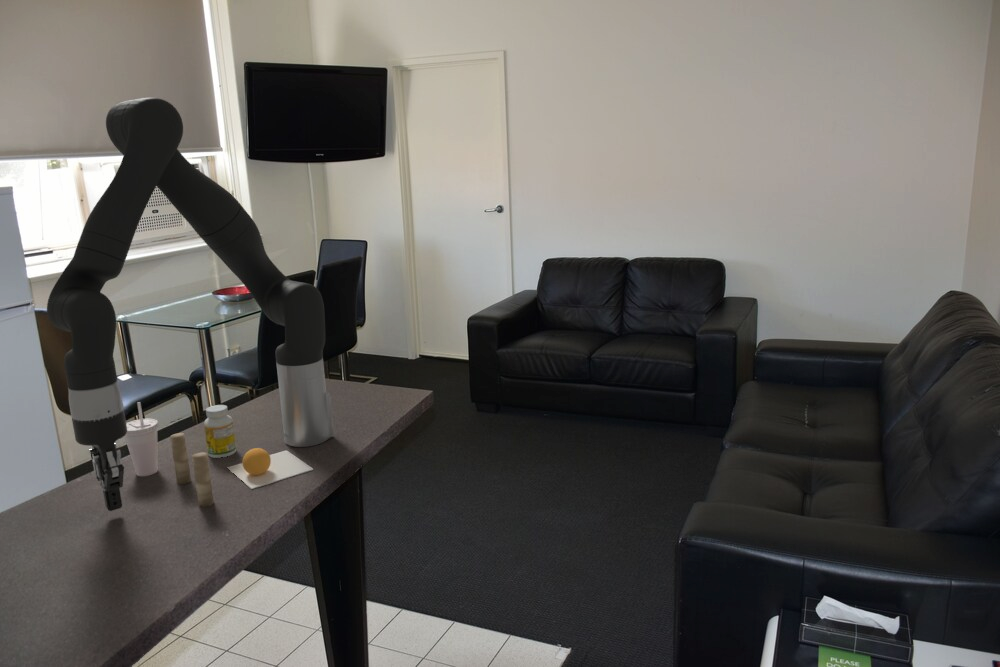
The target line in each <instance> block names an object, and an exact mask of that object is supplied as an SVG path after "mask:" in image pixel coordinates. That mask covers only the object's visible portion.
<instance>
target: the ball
mask: <svg viewBox="0 0 1000 667" xmlns="http://www.w3.org/2000/svg"><path fill="white" fill-rule="evenodd" d="M270 455H271V454H269V452H268V451H267V450H265V449H263V448H261V447H256V448H255V447H254V448H251V449H249V450H248V451H246V453H245V454H244V456H243V458H242V463H243V467H244V469H245V470H246V472H248V473H249V474H251V475H260V474H263V473H264V472H266V471H267V470H268V468H269V466H270V463H271V458H270Z"/></svg>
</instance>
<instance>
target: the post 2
mask: <svg viewBox="0 0 1000 667" xmlns="http://www.w3.org/2000/svg"><path fill="white" fill-rule="evenodd" d="M191 460H192V467H193V473H194V479H195V481H194V482H195V488H196V494H197V501H198V506H199V507H201V508H208V507H209V506H212V505H214V503H215V502H214V496H213V494H214V493H213V489H212V488H213V487H212V481H211V472H210V466H209V458H208V452H205V451H204V452H203V451H202V452H201V451H200V452H196V453H194V454H192V455H191Z"/></svg>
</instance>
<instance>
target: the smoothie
mask: <svg viewBox="0 0 1000 667" xmlns="http://www.w3.org/2000/svg"><path fill="white" fill-rule="evenodd" d="M136 404H137V410H138V416H139V417H138V418H139V419H134V420H131V421H128V422H126V426H127V433H126V435H125V436H124V439H125V443H126V445H127V448H128V452H129V455H130V458H131V461H132V464H133V467H134V471H135V474H136V475H137V476H138V477H148V476H151V475H154V474H156V473H157V472H158V470H159V468H158V466H159V465H158V461H159V460H158V453H159V452H158V429H159V427H160V426H159V421H158V420H157V419H155V418H143V417H144V416H143V410H142V404H141V401H139V402H138V401H137V403H136Z"/></svg>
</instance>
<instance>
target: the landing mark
mask: <svg viewBox="0 0 1000 667" xmlns="http://www.w3.org/2000/svg"><path fill="white" fill-rule="evenodd" d="M269 455H270V458H271V463H270V466H269V468H268V470H267V471H266V472H264V473H263V474H260V475H251V474H249V473H248V472H246V470H245V469H244V467H243V462H240V463H238V464H234V465H231V466H227V467H226V469H227V468H228V469H229V470H230V471H229V470H228V469H227V470H228V471H229V472H230V473H232V474H233V473H234V474H235V475H236V476H237V477H236V476H235V475H234V474H233V475H234V476H235V477H236V478H238V480H239V481H241V480H242V481H243V482H244V483H243V482H242V481H241V482H242V483H243V484H245V485H246V486H247V487H248V488H249V489H250V490H254V489H258V488H260V487H263V486H264V487H265V486H267V485H270V484H273V483H276V482H279V481H282V480H286V479H289V478H291V477H296V476H298V475H302V474H305V473H309V472H311V471H314V468H313V467H311V466H310V465H308V464H307V463H306V462H304V461H303V460H301V459H299V457H297V456H295V455H294V454H292V453H291V452H290V451H288V450H282V451H280V452H279V451H278V452H276V453H272V454H269Z"/></svg>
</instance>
